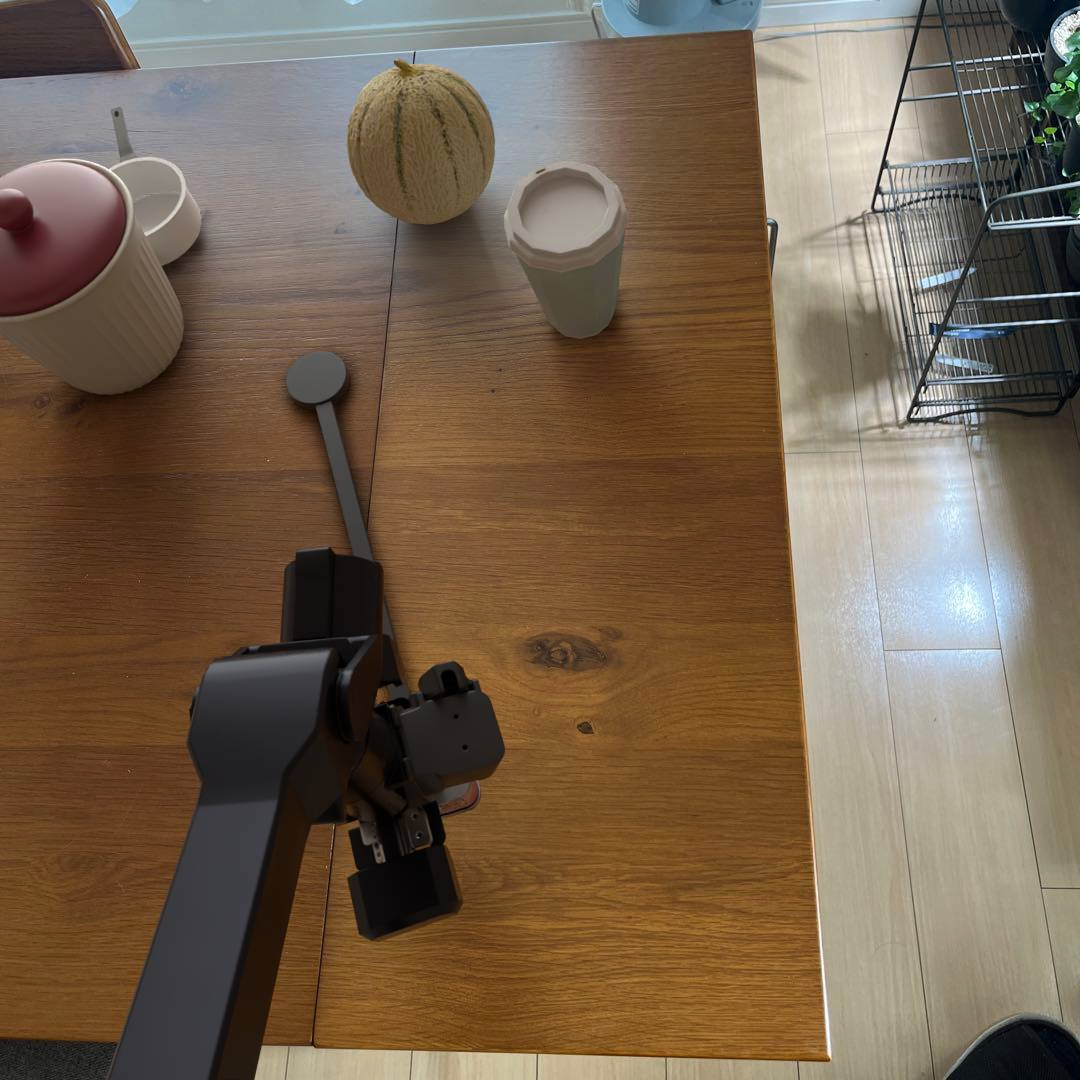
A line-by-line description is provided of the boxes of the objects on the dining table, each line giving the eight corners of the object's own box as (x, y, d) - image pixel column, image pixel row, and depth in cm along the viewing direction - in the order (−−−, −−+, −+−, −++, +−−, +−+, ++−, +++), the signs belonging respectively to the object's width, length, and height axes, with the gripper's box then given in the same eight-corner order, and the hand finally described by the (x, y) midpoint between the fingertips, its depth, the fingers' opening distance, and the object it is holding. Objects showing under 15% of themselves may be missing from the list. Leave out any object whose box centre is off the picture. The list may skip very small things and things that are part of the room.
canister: (227, 272, 101) (125, 108, 82) (197, 420, 94) (77, 278, 74) (66, 282, 103) (-70, 125, 84) (25, 427, 96) (-135, 291, 77)
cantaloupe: (407, 277, 98) (365, 165, 84) (347, 188, 104) (299, 70, 90) (532, 210, 99) (511, 90, 86) (466, 127, 106) (437, 2, 92)
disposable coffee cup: (653, 329, 92) (651, 217, 78) (553, 378, 91) (533, 273, 77) (602, 254, 96) (591, 136, 82) (506, 300, 95) (479, 188, 82)
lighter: (376, 828, 71) (344, 814, 62) (373, 782, 73) (341, 761, 63) (483, 813, 71) (468, 797, 62) (479, 767, 73) (463, 745, 63)
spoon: (448, 729, 78) (445, 725, 77) (378, 753, 78) (373, 750, 77) (342, 350, 95) (338, 343, 94) (284, 369, 95) (280, 362, 94)
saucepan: (188, 131, 110) (165, 90, 105) (217, 257, 102) (193, 219, 97) (92, 163, 110) (65, 124, 105) (114, 292, 102) (85, 256, 97)
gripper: (526, 870, 51) (556, 893, 65) (436, 566, 59) (480, 646, 73) (326, 940, 51) (400, 948, 65) (263, 625, 59) (341, 694, 73)
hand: (409, 799), depth 69 cm, fingers closed on lighter, 3 cm apart
